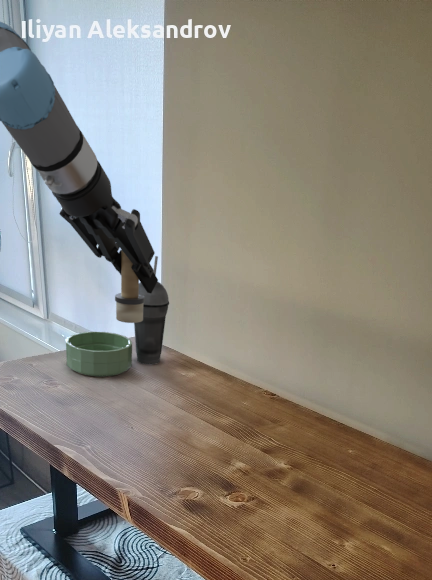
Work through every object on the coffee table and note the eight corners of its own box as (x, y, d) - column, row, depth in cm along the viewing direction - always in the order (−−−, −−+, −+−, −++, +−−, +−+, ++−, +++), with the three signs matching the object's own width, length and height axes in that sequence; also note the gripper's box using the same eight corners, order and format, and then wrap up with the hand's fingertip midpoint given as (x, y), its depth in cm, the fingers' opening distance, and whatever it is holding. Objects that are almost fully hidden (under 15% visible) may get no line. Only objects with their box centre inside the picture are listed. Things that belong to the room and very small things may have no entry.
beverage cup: (144, 352, 128) (147, 249, 118) (174, 360, 125) (178, 256, 115) (122, 360, 123) (122, 254, 113) (152, 369, 120) (155, 260, 110)
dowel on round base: (110, 321, 102) (110, 222, 94) (120, 314, 106) (120, 218, 98) (139, 324, 101) (141, 225, 94) (147, 317, 105) (150, 222, 98)
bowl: (56, 372, 114) (55, 346, 112) (81, 353, 124) (80, 328, 122) (119, 381, 113) (119, 355, 110) (139, 361, 123) (139, 336, 121)
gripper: (16, 190, 85) (96, 294, 106) (109, 205, 79) (174, 312, 100) (41, 147, 87) (115, 258, 108) (134, 158, 81) (194, 274, 102)
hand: (144, 284), depth 104 cm, fingers closed on dowel on round base, 3 cm apart
